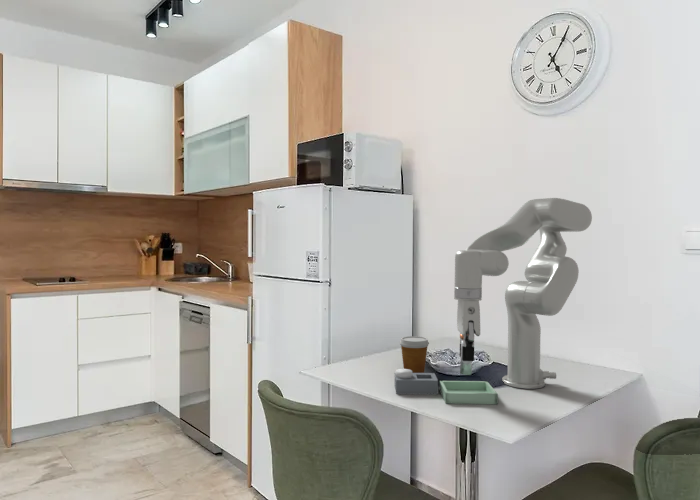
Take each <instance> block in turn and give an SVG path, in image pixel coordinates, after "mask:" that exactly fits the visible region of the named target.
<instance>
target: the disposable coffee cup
mask: <svg viewBox="0 0 700 500" xmlns="http://www.w3.org/2000/svg"><path fill="white" fill-rule="evenodd" d="M399 344H400V347H401V349H400V350H401V356H402V364H403V369H409V370H412V373H425V368H426V361H427V360H426V359H427V352H428V347H429V344H430V343H429V339H428V338H427V337H425V336H418V335H417V336H416V335H413V336H412V335H410V336H403V337H401V339H400V341H399Z"/></svg>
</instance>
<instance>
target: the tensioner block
mask: <svg viewBox="0 0 700 500" xmlns="http://www.w3.org/2000/svg"><path fill="white" fill-rule="evenodd" d="M394 389H395V394H396V395H438V394H439V379H438V377H437V376H436V374H435V372H424V373H412V370H409V369H404V368H397V369H395V371H394Z"/></svg>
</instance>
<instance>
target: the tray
mask: <svg viewBox="0 0 700 500" xmlns="http://www.w3.org/2000/svg"><path fill="white" fill-rule="evenodd" d="M438 391H439V392H440V394H441V397H442V399H443V401H444V403H445V404H446V405H447V404H448V405H449V404H457V405H458V404H459V405H461V404H463V405H464V404H465V405H469V404H470V405H498V404H499V403H498V402H499V401H498V399H499V397H498V396H499V394H498V393H497V391H496V390H495V389H494V387H492V385H491V384H490V383H489V381H487V380H486V381H485V380H484V381H481V380H439V384H438Z"/></svg>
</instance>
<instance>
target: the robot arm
mask: <svg viewBox="0 0 700 500" xmlns="http://www.w3.org/2000/svg"><path fill="white" fill-rule="evenodd" d="M592 220H593V215H592V212H591V210H590V208H589V207H588V206H587V205H585V204H583V203H580V202H576V201H573V200H568V199H565V198H561V197H560V198H559V197H548V198H546V197H545V198H533V199H530V200H528V201H526V202H525V203H523V205H522V206H521V207H520V208H519V209H518V210H516V212H514V214H513V215H512V216H511V217H510V218H509V219H508V220H507V221H506V222H505V223H504V224H501V225H500V226H498V227H496V228H494V229H492V230H490V231H488V232H486V233H484V234H483V235H481V236H479V237H477V238H476V239H475V240H474V241H473V242H472V243H471V244H470V245H469V246H468V247H467V248H465V250H457V251H456V253H455V255H454V291H453V292H454V295H453V297H454V300H457V312H456V315H457V316H456V317H457V318H456V325H457V326H456V328H457V331H458V332H459V333H460V334H462V335H463V337H464V346H462V360H463V361H472V362H474V361H475V337H480V336H481V309H480V301H482V300H483V297H482V295H483V294H482V293H483V289H482V288H483V276H484V277H485V276H487V277H500V276H502V275H503V274H504V273H505V272H507V270H508V268H509V263H510V262H509V258H508V256H507V255H506V254H505V253H504V251H509V250H513V249H517V248H520V247H522V246H524V245H525V244H527V243H528V241H530V239H531V238H533V236H534V235H535V234H536V233H537V232H539V237H540V241H539V244H538V247H537V248H536V250H535V251H534V253H533V255H532V256H531V258H530V260H529V261H528V263H527V265H526V267H525V269H524V277H525V280H519V281H518V280H517V281H514V282H512V283H510V284H509V285H507V286H506V289H505V292H504V302H505V305H506V306H505V307H506V313H507V374H505V375H504V376H503V377H502V378H501V379H502V381H503V382H504V383H503V382H502V383H503V384H505V385H506V386H509V387H512V388H516V389H527V390H534V389H535V390H536V389H541V388H544V387H545V386H546V379H550V380H551V379H552V380H553V379H554V380H556V379H557V373H556V372H555V371H552V372H550V371H548V370H543V369H541V330H542V329H541V324H540V321H539V318H538V316H539V315H540V316H547V317H552V316H556V315H558V314H559V313H560V311H561V310H562V309H563V307H564V306H565V304H566V302H567V300H568V299H569V297H570V295H571V294H572V291H573V290H574V288H575V286H576V284H577V282H578V279H579V267H578V263H577V262H576V260H574V258H571V257H569V256H566V254H567V251H568V250H567V249H568V248H567V245H566V242H565V241H564V239H563V236H562V234H561V233H565V232H566V233H567V232H569V233H571V232H572V233H573V232H576V233H577V232H583V231H586V230H587V229H588V228H589V227H590V226H591V224H592ZM460 334H459V335H460ZM466 334H469V335H466ZM466 338H467V339H466ZM459 358H460V359H461V338H460V337H459Z"/></svg>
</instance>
